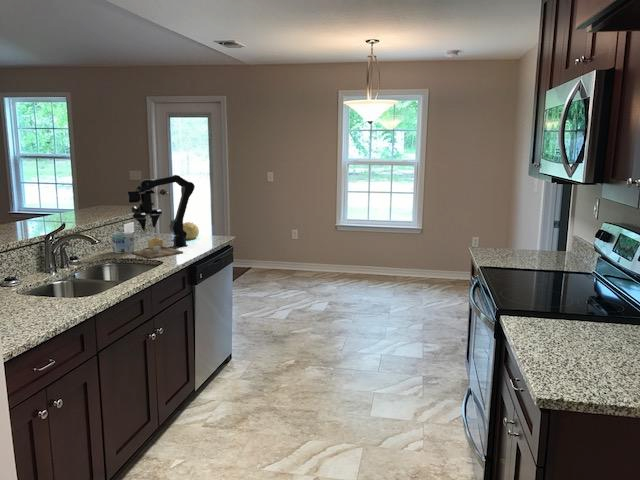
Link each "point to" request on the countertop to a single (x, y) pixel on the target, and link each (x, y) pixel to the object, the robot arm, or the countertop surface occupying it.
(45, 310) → the countertop surface
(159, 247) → the grey metal block
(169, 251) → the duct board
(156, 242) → the collar
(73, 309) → the countertop surface
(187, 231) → the sculpture
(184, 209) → the robot arm
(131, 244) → the light bulb box
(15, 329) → the countertop surface
